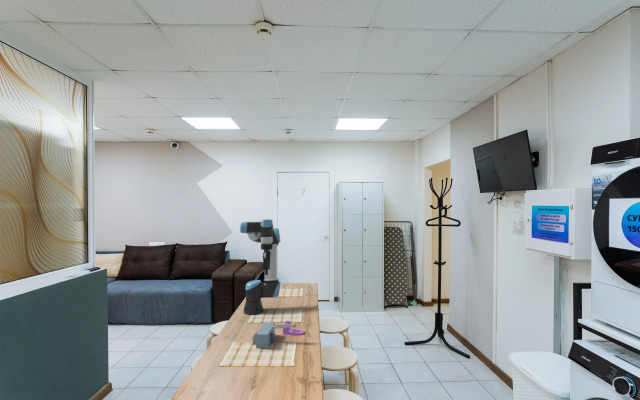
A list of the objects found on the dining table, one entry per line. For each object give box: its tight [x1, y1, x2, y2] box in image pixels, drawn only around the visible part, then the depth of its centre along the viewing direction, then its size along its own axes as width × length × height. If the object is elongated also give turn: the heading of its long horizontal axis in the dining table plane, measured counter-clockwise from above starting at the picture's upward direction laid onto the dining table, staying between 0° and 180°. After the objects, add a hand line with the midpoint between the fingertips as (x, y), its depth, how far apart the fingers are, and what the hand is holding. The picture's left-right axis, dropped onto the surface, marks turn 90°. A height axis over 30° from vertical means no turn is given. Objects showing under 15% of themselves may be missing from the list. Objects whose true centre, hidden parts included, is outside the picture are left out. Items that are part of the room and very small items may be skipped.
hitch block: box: [255, 321, 276, 349], centre depth 182 cm, size 18×7×8 cm, turn 176°
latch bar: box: [272, 322, 297, 329], centre depth 182 cm, size 2×15×2 cm, turn 86°
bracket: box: [282, 320, 305, 336], centre depth 194 cm, size 13×6×7 cm, turn 84°
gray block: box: [252, 331, 277, 345], centre depth 182 cm, size 8×12×4 cm
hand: (266, 279), depth 195 cm, fingers closed
